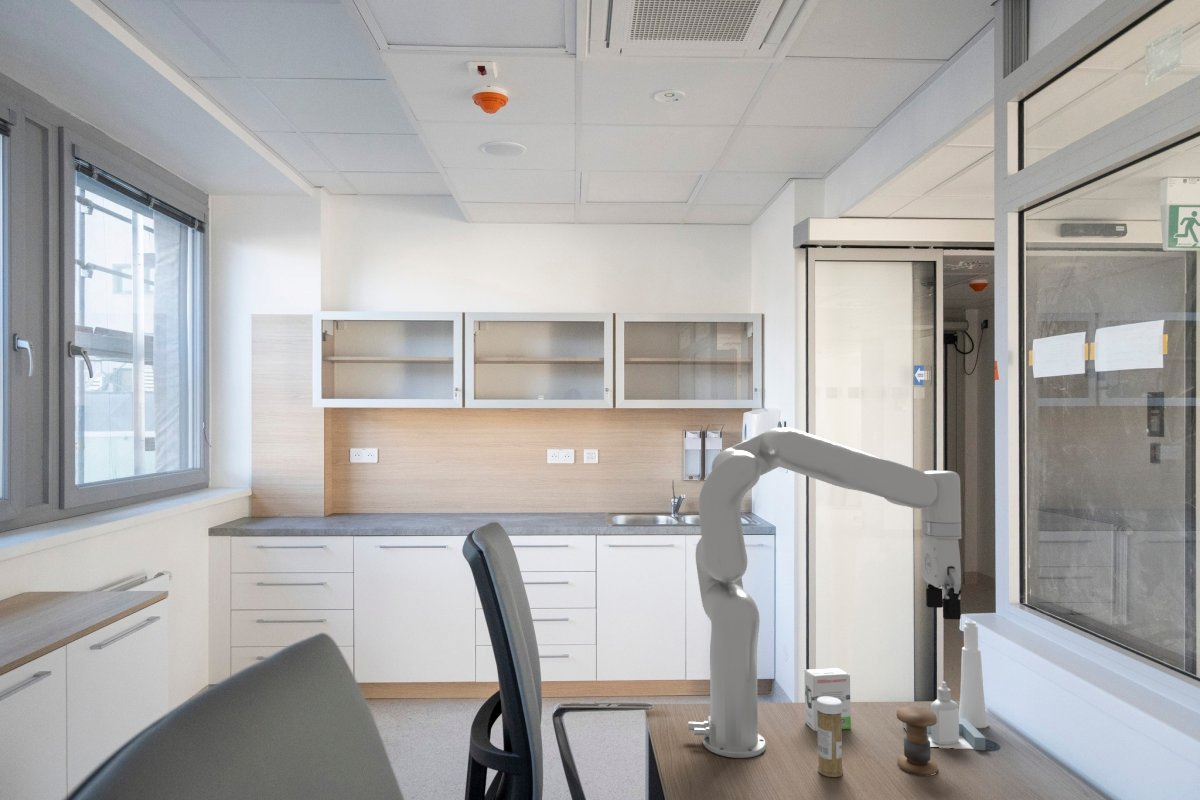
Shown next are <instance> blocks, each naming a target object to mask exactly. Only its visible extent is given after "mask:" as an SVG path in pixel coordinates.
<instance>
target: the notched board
mask: <svg viewBox="0 0 1200 800" xmlns="http://www.w3.org/2000/svg"><path fill="white" fill-rule="evenodd" d="M903 726H904V728H905V729H906V723H904V722H902V727H903ZM904 728H903V729H904ZM927 739H928V740H929V741H930V747H939V748H938V749H950V748H954V750H975V751H986V737H985V736H984V735H983V734H982V733H981V732H980V730H979V729H978V728H975V727H974V726H973V725H972V724H971V723H970V722H969V721H968V720H967V719H966V718H959V741H958V742H957V743H954V744H949V745H940V744H937V743H935V742H934V741H932V739H931V726H927Z"/></svg>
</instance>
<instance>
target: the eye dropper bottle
mask: <svg viewBox="0 0 1200 800" xmlns="http://www.w3.org/2000/svg"><path fill="white" fill-rule="evenodd" d="M951 691H952V689H950V688H949V687H947V682H946V681H941V686H939V687H938V688H937V698H936V699H935V700H934V701H933V702H932V703H931V704H930V711H931V712H933V713H934V714H935V715H936V716H937V723H936V724H935V725H933V726H931V739H932V741H934V742H935V743H937V744H940V745H949V744H954V743H957V742H958V741H959V704H958V703H957V702H956V701H954V700H952V694H951V693H952V692H951Z"/></svg>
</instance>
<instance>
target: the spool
mask: <svg viewBox="0 0 1200 800" xmlns="http://www.w3.org/2000/svg"><path fill="white" fill-rule="evenodd" d="M896 718H897V719H898V720H899V721H900V722H902V723H903V722H904V723H906V730H907V732H906V735H905V736H904V737H903V753H902V754H900V755H898V756H897V759H896V760H897V767H898V768H899V767H900V768H899V769H900V770H902V769H903V770H902V771H903V772H905V771H906V772H905V773H908V772H909V773H908V774H911V773H912V774H911V775H914V774H916V775H915V776H920V775H931V774H934V773H936V772H937V770H938V771H939V769H938V762H937V761H936V760H934V759H933V758H931V748H930V741H929V740H928V739H927V726H933V725H935V724H936V723H937V716H936V715H935V714H934V713H933V712H931V710H928V709H926V708H922V707H916V706H903V707H899V708H897V709H896ZM937 773H938V772H937ZM937 773H936V774H937ZM934 775H935V774H934ZM931 776H932V775H931Z"/></svg>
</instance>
